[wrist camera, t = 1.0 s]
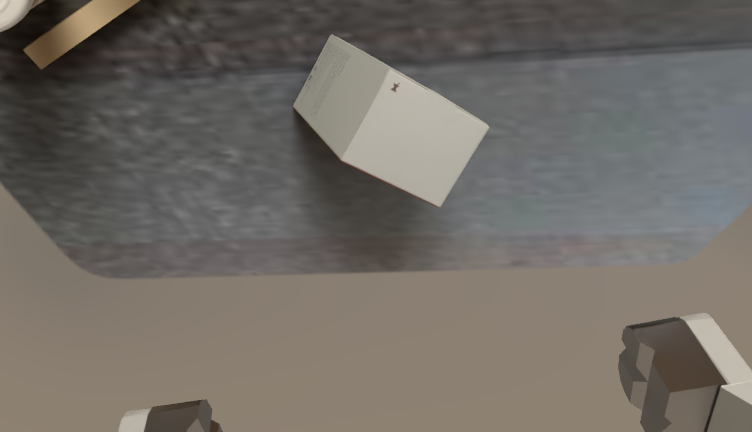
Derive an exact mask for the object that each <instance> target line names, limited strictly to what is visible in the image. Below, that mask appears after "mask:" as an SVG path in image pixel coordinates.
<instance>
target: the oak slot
mask: <svg viewBox="0 0 752 432" xmlns="http://www.w3.org/2000/svg"><path fill="white" fill-rule="evenodd" d="M138 1H140V0H91V1H90V2H89V3H87V4H86V5H84V6H83V7H82V8H80V9H79V10H77V11H76V12H74V13H73V14H72V15H70V16H69V17H67V18H66V19H64V20H63V21H62V22H60V23H59V24H57V25H56V26H54V27H53V28H52V29H50V30H49V31H47V32H46V33H44V34H43V35H42V36H40V37H39V38H37V39H36V40H34V41H33V42H32V43H30V44H29V45H27V46H26V47H25V48H24V49H23V51H24V52H25V53H26V54H27V55H28V56H29V57H30V58H31V59H32V60H33V61H34V62H35V63H36V65H37V66H38V67H39V68H40V69H41V70H42V69H43V68H44V67H46V66H47V65H49V64H50V63H52V62H53V61H54V60H56V59H57V58H59V57H60V56H62V55H63V54H64V53H66V52H67V51H69V50H70V49H71V48H73V47H74V46H76V45H77V44H79V43H80V42H81V41H83V40H84V39H86V38H87V37H89V36H90V35H91V34H93V33H94V32H96V31H97V30H98V29H100V28H101V27H103V26H104V25H106V24H107V23H108V22H110V21H111V20H113V19H114V18H116V17H117V16H118V15H120V14H121V13H123V12H124V11H125V10H127V9H128V8H130V7H131V6H133V5H134V4H135V3H137V2H138Z"/></svg>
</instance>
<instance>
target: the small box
mask: <svg viewBox="0 0 752 432" xmlns="http://www.w3.org/2000/svg"><path fill="white" fill-rule="evenodd" d="M293 107H294V108H295V110H296V111H297V112H298V113H299V114H300V115H301V116H302V117H303V118H304V120H305V121H306V122H307V123H308V124H309V125H310V126H311V127H312V129H313V130H314V131H315V132H316V133H317V134H318V135H319V136H320V138H321V139H322V140H323V141H324V142H325V143H326V144H327V145H328V147H329V148H330V149H331V150H332V151H333V152H334V153H335V155H336V156H337V157H338V158H339V159H340V160H341V161H342V162H343V163H345V164H347V165H350V166H352V167H354V168H356V169H358V170H360V171H362V172H364V173H366V174H368V175H370V176H372V177H375V178H377V179H379V180H381V181H383V182H385V183H387V184H390V185H392V186H394V187H396V188H398V189H400V190H402V191H404V192H406V193H409V194H411V195H413V196H415V197H417V198H419V199H421V200H423V201H425V202H428V203H430V204H432V205H434V206H436V207H438V208H439V207H441V205H442V203H443V202H444V200H445V199H446V197H447V195H448V194H449V192H450V190H451V189H452V187H453V185H454V184H455V182H456V181H457V179H458V177H459V176H460V174H461V172H462V171H463V169H464V167H465V166H466V164H467V163H468V161H469V159H470V158H471V156H472V155H473V153H474V152H475V150H476V148H477V147H478V145H479V144H480V142H481V140H482V139H483V137H484V136H485V134H486V133H487V131H488V130H489V126H488V125H487V124H486V123H484V122H483V121H481V120H480V119H478V118H476V117H475V116H473V115H471V114H470V113H468V112H467V111H465V110H463V109H462V108H460V107H458V106H457V105H455V104H454V103H452V102H450V101H449V100H447V99H446V98H444V97H442V96H441V95H439V94H437V93H436V92H434V91H432V90H430V89H428V88H426V87H425V86H423V85H421V84H419V83H418V82H416V81H414V80H412V79H411V78H409V77H407V76H405V75H404V74H402V73H400V72H398V71H397V70H395V69H393V68H391V67H390V66H388V65H386V64H384V63H383V62H381V61H379V60H377V59H376V58H374V57H372V56H370V55H369V54H367V53H365V52H363V51H362V50H360V49H358V48H356V47H355V46H353V45H351V44H349V43H347V42H346V41H344V40H342V39H340V38H338V37H336V36H334V35H330V37H329V39H328V40H327V42H326V44H325V46H324V48H323V50H322V52H321V54H320V55H319V57H318V59H317V61H316V63H315V65H314V67H313V69H312V71H311V73H310V75H309V77H308V79H307V81H306V82H305V84H304V86H303V88H302V90H301V92H300V94H299V96H298V97H297V99H296V101H295V103H294V105H293Z"/></svg>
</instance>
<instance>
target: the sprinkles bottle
mask: <svg viewBox="0 0 752 432" xmlns="http://www.w3.org/2000/svg"><path fill="white" fill-rule="evenodd" d="M44 1H46V0H0V32H2V31H4V30H7V29H9V28H11V27H12V26H14V25H15V24H17V23H18V22H19V21H21V20H22V19H23V18H24V17H25V16H26V14H27V13H28V12H29V10H30V9H32V8H33V7H35V6H36V5H38V4H40V3H42V2H44Z"/></svg>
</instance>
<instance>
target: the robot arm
mask: <svg viewBox="0 0 752 432" xmlns="http://www.w3.org/2000/svg"><path fill="white" fill-rule="evenodd" d="M622 341H623V343H624V345H625V346H626V349H625V350H624V351H623V352H622V353H621V354H620V355H619V364H618V368H619V374H620V380H621V383H622V386H623V389H624V391H625V393H626V396H627V398H628V399H629V402H630V403H631V404H633V405H635V406H636V407H638V408H639V409H641V410H642V416H641V421H640V423H641V425H642V427H643V429H644V431H645V432H752V370H751V369H750V368H749V366H748V365H747V364H746V362H745V361H744V360H743V358H742V357H741V356H740V355H739V353H738V352H737V350H736V349H735V348H734V347H733V345H732V344H731V343H730V341H729V340H728V339H727V337H726V336H725V335H724V333H723V332H722V331H721V329H720V328H719V327H718V325H717V324H716V323H715V321H714V320H713V319H712V317H711V316H709V315H708V314H706V313H699V314H694V315H688V316H682V317H678V318H676V317H673V318H668V319H663V320H657V321H651V322H646V323H641V324H635V325H630V326H626V327H625V329H624V330H623V334H622ZM211 416H212V408H211V407H210V405H209V403H208V401H207V400H198V401H191V402H185V403H177V404H170V405H164V406H156V407H150V408H144V409H137V410H132V411H127V412H126V413H125V415H124V416H123V418H122V420H121V422H120V426H119V429H118V432H223V431H222V429H221V427H220V425H219V423H217V422H215V421H213V420H211Z"/></svg>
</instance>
